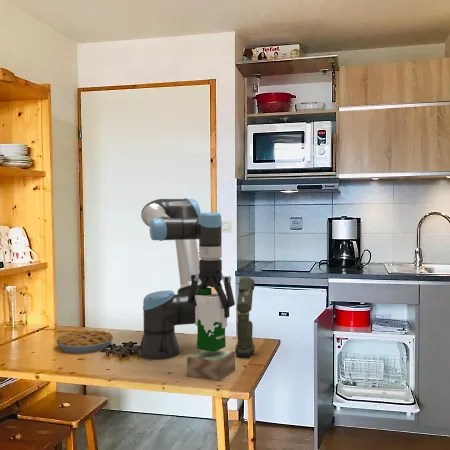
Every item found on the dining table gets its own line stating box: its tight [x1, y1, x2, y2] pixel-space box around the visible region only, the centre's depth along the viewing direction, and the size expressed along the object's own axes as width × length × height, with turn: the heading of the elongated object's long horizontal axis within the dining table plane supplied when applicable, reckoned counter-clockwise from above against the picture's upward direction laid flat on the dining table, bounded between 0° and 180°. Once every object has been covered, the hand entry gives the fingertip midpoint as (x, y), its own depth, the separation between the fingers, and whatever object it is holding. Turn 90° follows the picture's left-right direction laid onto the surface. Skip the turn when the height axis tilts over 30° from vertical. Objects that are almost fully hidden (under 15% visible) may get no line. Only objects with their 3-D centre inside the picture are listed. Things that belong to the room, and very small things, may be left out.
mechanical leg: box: [234, 276, 256, 359], centre depth 194 cm, size 14×7×30 cm, turn 168°
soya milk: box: [195, 287, 227, 352], centre depth 171 cm, size 9×9×20 cm
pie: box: [55, 329, 114, 354], centre depth 205 cm, size 22×22×5 cm
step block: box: [186, 349, 236, 382], centre depth 172 cm, size 12×12×6 cm
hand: (211, 325), depth 171 cm, fingers closed on soya milk, 9 cm apart
